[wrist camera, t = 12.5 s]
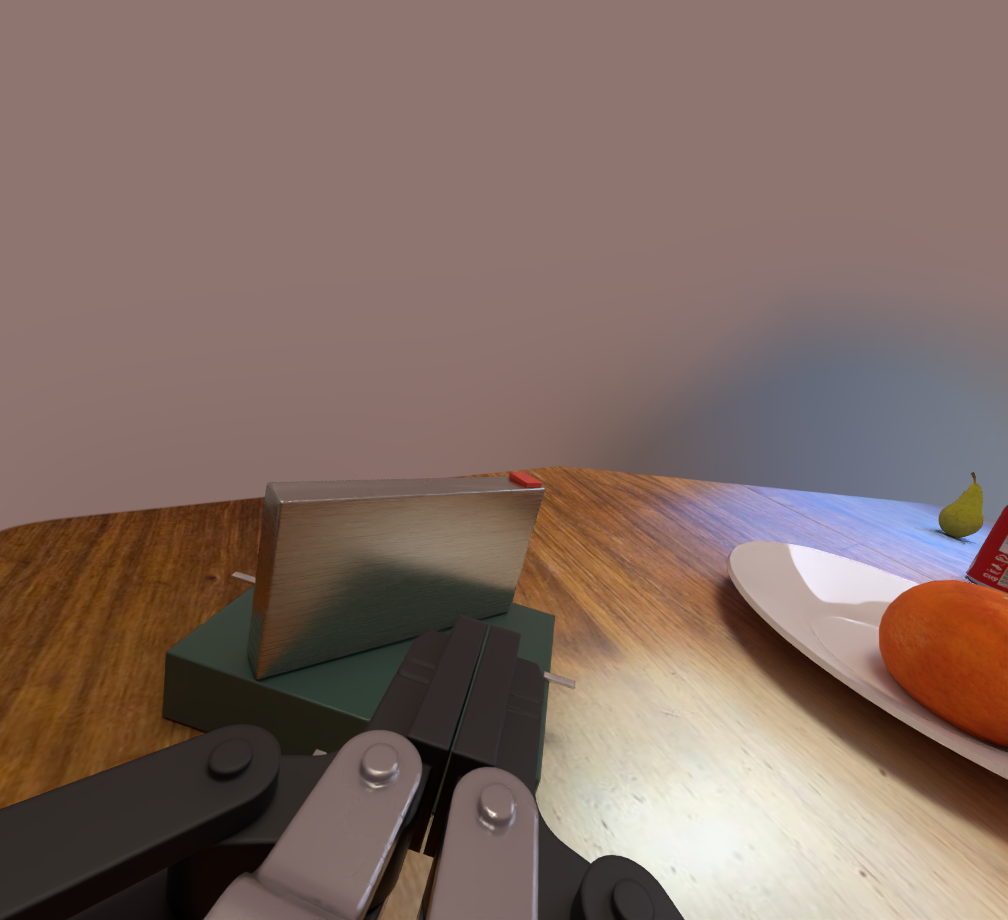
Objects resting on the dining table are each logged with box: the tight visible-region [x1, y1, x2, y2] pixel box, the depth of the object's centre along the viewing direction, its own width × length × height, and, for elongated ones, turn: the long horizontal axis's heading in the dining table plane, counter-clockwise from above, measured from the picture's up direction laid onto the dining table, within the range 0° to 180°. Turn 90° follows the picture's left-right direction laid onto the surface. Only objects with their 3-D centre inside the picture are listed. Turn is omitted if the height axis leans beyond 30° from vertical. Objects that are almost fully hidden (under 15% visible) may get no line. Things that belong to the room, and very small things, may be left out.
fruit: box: [939, 472, 983, 537], centre depth 87 cm, size 6×6×12 cm
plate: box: [727, 541, 1008, 779], centre depth 34 cm, size 28×28×9 cm
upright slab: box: [247, 472, 545, 680], centre depth 20 cm, size 12×2×7 cm, turn 129°
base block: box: [162, 572, 575, 813], centre depth 22 cm, size 16×16×3 cm
